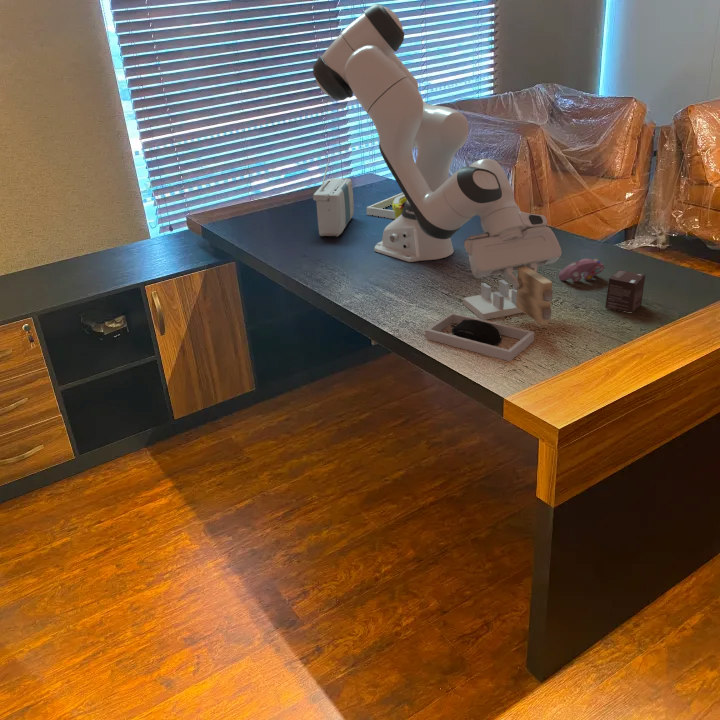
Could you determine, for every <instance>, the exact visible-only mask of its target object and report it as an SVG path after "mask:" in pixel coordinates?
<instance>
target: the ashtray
mask: <svg viewBox="0 0 720 720" xmlns="http://www.w3.org/2000/svg"><path fill="white" fill-rule="evenodd" d="M406 201H407V198H406V197H405V195H401V196H398V197H396V198H395V199H394V201H393V203H392V205H391V207H392V209H391V210H393V211H395V219H396V218H398V217H399V216H400V215H401V214H402V211H403V208H402V209H399V207H401V206H399V205H401V204H403V203H404V202H406ZM395 219H394V220H395Z"/></svg>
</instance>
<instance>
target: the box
mask: <svg viewBox="0 0 720 720" xmlns="http://www.w3.org/2000/svg"><path fill="white" fill-rule="evenodd" d="M645 280H646V274H644V273H637V272H633V271H627V270H621V269H620V270H617V271H616V272H615V273H614V274H612V275H611V276H610V277H609V278H608V283H607V291H606V299H605V307H604V308H605V309H606V308H608V309H607V310H610V309H614V310H613V311H616V310H620V311H626V312H633V311H634V310H635V309H636V308H637V307H638V306H639V305H640V304H641V305H642V303H643V302H642V301H643V294H644V289H645V287H644V286H645ZM641 305H640V306H641ZM640 306H639V307H640ZM639 307H638V308H639ZM638 308H637V309H638ZM637 309H636V310H637ZM636 310H635V311H636ZM620 311H619V312H620ZM635 311H634V312H635ZM634 312H633V313H634Z"/></svg>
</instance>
